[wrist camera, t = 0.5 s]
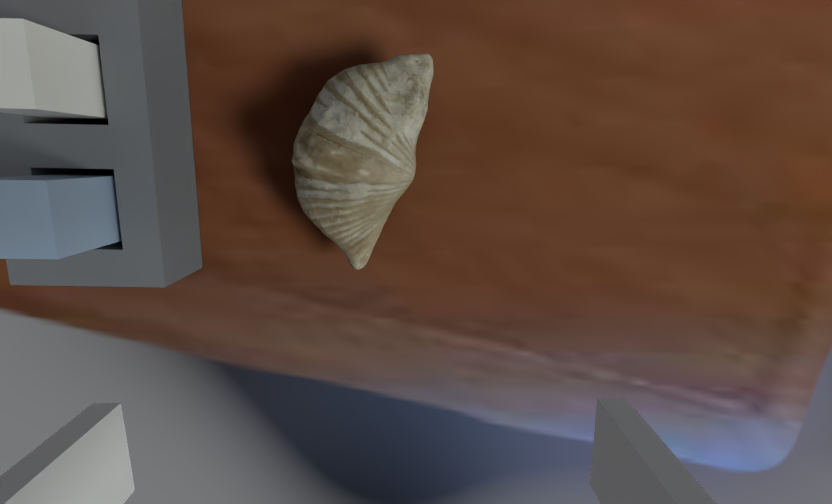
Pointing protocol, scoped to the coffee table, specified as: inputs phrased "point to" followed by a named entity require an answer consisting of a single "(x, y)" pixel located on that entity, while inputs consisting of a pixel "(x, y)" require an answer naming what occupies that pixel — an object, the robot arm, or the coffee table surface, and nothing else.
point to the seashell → (361, 149)
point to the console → (118, 143)
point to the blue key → (57, 215)
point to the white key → (49, 73)
